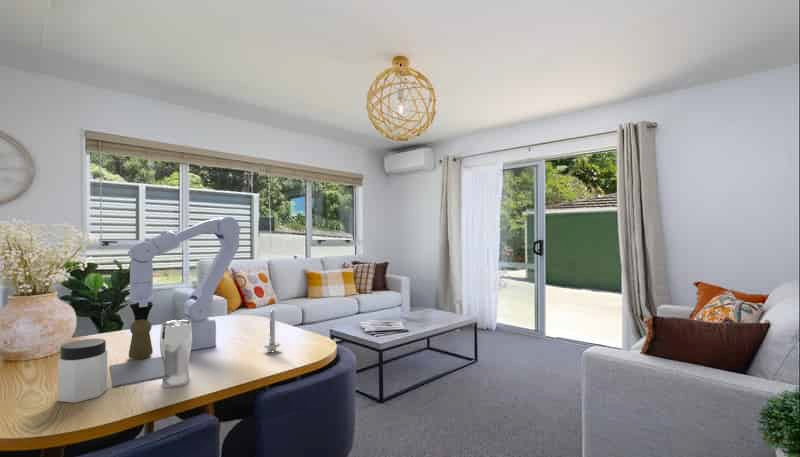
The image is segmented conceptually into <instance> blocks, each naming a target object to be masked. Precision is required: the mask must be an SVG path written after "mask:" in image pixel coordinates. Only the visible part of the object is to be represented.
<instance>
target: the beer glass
mask: <svg viewBox="0 0 800 457" xmlns="http://www.w3.org/2000/svg"><path fill="white" fill-rule="evenodd" d="M159 334H160V336H159V349H160V357H162V361H163V367H164V376H163V378H162V381H161V386H162V387H163V388H167V389H169V388H171V389H173V388H178V387H183V386H185V385H187V384H189V383H190V379H191V378H190V373H189V362H190V356H191V351H192V350H191V346H192V327H191V321H188V320H183V319H180V320H179V319H178V320H170V321H166V322H163V323H162V324H161V325H160V333H159Z"/></svg>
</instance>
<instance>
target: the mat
mask: <svg viewBox="0 0 800 457" xmlns="http://www.w3.org/2000/svg"><path fill="white" fill-rule="evenodd" d="M109 368H110V377H111V385H112V388H119V387H124V386H128V385H134V384H137V383H139V384H140V383H143V382H144V383H145V382H149V381H152V380H154V381H155V380H158V379H163V376H164V367H163V361H162V356H157V357H152V358H151V357H150V358H145V359H141V360H133V361H129V362H128V361H127V362H122V363H116V364H110V365H109Z"/></svg>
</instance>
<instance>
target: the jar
mask: <svg viewBox="0 0 800 457" xmlns="http://www.w3.org/2000/svg"><path fill="white" fill-rule="evenodd" d="M106 343H107V341H106V339H103V338H85V339H78V340H74V341H70V342H66V343H64V344H62V345H61V346H60V350H59V351H60V354H59V355H60V357H59V359H57V401H58V402H59V403H60V402H62V403H72V404H77V403H79V402H84V401H88V400H92V399H95V398H100V397H101V395H102V394H104V392H105V391H106V390H107V389H108V349H106V348H107V344H106Z"/></svg>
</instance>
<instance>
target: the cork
mask: <svg viewBox="0 0 800 457" xmlns="http://www.w3.org/2000/svg"><path fill="white" fill-rule="evenodd" d="M129 329H130V333H131V334H132V335H131V339H130V344H129V350H128V357H129V359H131V360H133V361H139V360H144V359H148V358H149V357H150V356H152V355H153V346H152V339H151V334H150V332H151V330H152V322H151V321H149V320H148V319H147V320H145V319H141V320H137V321H135V320H134V321H133V322H132V323H131V325H130V327H129Z"/></svg>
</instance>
